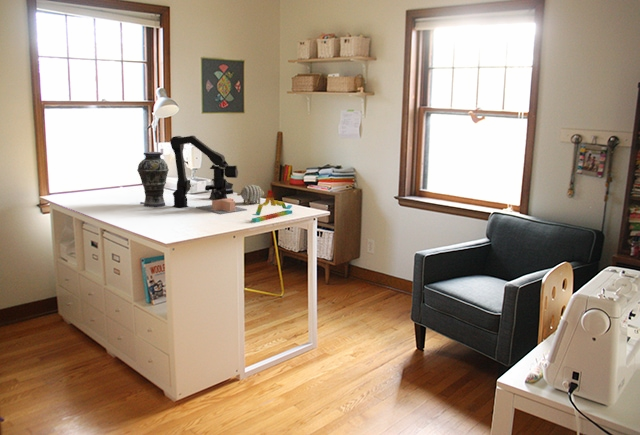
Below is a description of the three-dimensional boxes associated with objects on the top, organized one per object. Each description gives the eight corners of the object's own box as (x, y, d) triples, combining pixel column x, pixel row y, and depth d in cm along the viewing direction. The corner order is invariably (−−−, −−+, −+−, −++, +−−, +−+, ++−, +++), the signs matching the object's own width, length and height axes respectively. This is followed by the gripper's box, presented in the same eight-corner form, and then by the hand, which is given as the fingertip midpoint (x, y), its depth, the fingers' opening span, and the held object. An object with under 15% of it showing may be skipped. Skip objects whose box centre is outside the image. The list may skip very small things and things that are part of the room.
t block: (223, 212, 325) (223, 203, 324) (212, 209, 332) (212, 200, 331) (241, 209, 333) (241, 200, 332) (229, 206, 340) (229, 198, 339)
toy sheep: (267, 203, 355) (267, 185, 353) (241, 206, 346) (241, 187, 344) (259, 200, 364) (259, 182, 362) (234, 203, 355) (233, 184, 352)
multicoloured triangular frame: (287, 213, 330) (287, 186, 327) (292, 214, 329) (292, 186, 326) (251, 222, 306) (251, 193, 303) (256, 223, 304) (256, 193, 301)
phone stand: (215, 200, 362) (215, 180, 360) (209, 199, 366) (209, 179, 364) (227, 198, 369) (227, 179, 366) (221, 197, 373) (221, 178, 370)
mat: (220, 214, 322) (220, 213, 322) (196, 207, 337) (196, 206, 337) (247, 210, 334) (247, 209, 334) (222, 204, 350) (222, 203, 350)
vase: (132, 206, 338) (130, 152, 332) (153, 201, 353) (152, 150, 347) (154, 209, 331) (152, 154, 325) (175, 204, 346) (174, 152, 340)
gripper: (240, 178, 333) (240, 205, 336) (220, 174, 346) (220, 200, 349) (224, 179, 325) (224, 208, 329) (204, 175, 338) (204, 202, 341)
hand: (219, 204), depth 337 cm, fingers closed
